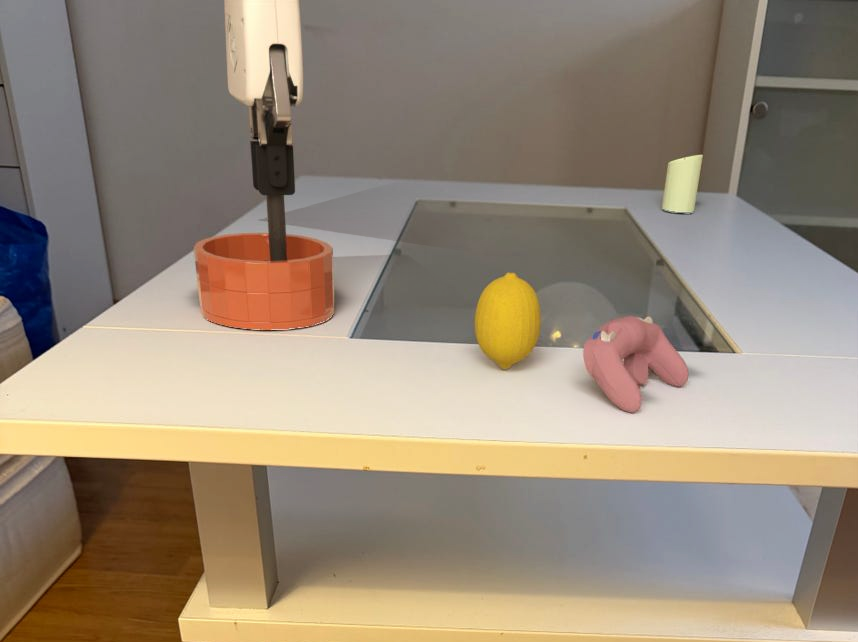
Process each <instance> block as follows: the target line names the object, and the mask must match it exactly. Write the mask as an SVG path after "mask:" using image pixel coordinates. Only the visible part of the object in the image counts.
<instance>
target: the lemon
mask: <svg viewBox="0 0 858 642" xmlns="http://www.w3.org/2000/svg"><path fill="white" fill-rule="evenodd" d="M541 324H542V315H541V306H540V302H539V298H538V295H537V293H536V291H535V290H534V288H533V287H532V286H531V285H530V283H528V282H527V281H526V280H524V279H522V278H520V277H518V275H517V274H516V273H515V272H506V273H505V274H504V276H500V277H498V278H496V279H494V280H493V281H491V282H490V283H489V284H487V286H486V287H485V288H484V289H483V291H482V292H481V294H480V296H479V299H478V302H477V306H476V309H475V314H474V333H475V337H476V341H477V345H478V346H479V349H480V350H481V351H482V353H483V354H484V355H485V357H487V358H488V359H490V360H492V361H494V362H495V363H496V364H497V366H499V367H500V369H502V370H508V369H510V368H511V367H512V366H513V365H514V364H515V363H519V362H521V361H522V360H524V359H525V358H527V357H528V356H529V355H530V354H531V353H532V352H533V351H534V349H535V347H536V345H537V344H538V340H539V337H540V332H541Z"/></svg>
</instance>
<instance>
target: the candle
mask: <svg viewBox="0 0 858 642" xmlns="http://www.w3.org/2000/svg"><path fill="white" fill-rule="evenodd" d="M703 157H704V155H703V154H696V155H690V156H684V157H682V158H678V159H675V160H671V161H669V162H668V163H667V167H666V168H667V170H666V176H665V182H664V189H663V197H662V203H661V210H662V209H665V210H669V211H675V212H693V211H694V212H695V207H696V201H697V194H698V188H699V184H700V183H699V182H700V177H701V170H702V164H703V159H704V158H703ZM694 212H693V213H694Z"/></svg>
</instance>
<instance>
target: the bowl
mask: <svg viewBox="0 0 858 642" xmlns="http://www.w3.org/2000/svg"><path fill="white" fill-rule="evenodd" d="M286 243H287V260H285V261H264V260H270V249H269V233H268V232H238V233H229V234H221V235H216V236H211V237H207V238H204V239H201V240H199V241H197V242H196V243H195V244H194V246H193V251H194V252H193V254H194V263H195V275H196V283H197V292H198V303H199V306H200V314H201V316H202V315H203V316H202V318H204V317H205V318H206V319H208V320H209V321H208V320H207V321H208V322H210V321H211V322H210V323H212V322H214V323H217V324H221V325H225V326H231V327H236V328H246V329H260V330H262V329H263V330H271V329H289V328H298V327H306V326H312V325H315V324H317V323H320V322H323V321H326V320H327V319H328V318H330V317H331V316H332V315H333V314H335V280H334V278H335V277H334V248H333V247H332V245H330V244H329V243H328V242H327V241H323V240H320V239H318V238H315V237H309V236H306V235H305V236H304V235H299V234H290V233H286ZM333 316H334V315H333ZM205 318H204V319H205ZM206 319H205V320H206ZM214 323H213V324H214ZM217 324H216V325H217ZM221 325H220V326H221ZM225 326H224V327H225Z"/></svg>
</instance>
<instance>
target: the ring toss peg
mask: <svg viewBox="0 0 858 642" xmlns="http://www.w3.org/2000/svg"><path fill="white" fill-rule="evenodd" d="M265 201H266V214H267V215H266V216H267V231H268V232H267V233H269V249H270V260H264V261H285V260H287V243H286V234H287V226H286V208H285V207H286V206H285V195H265Z"/></svg>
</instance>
